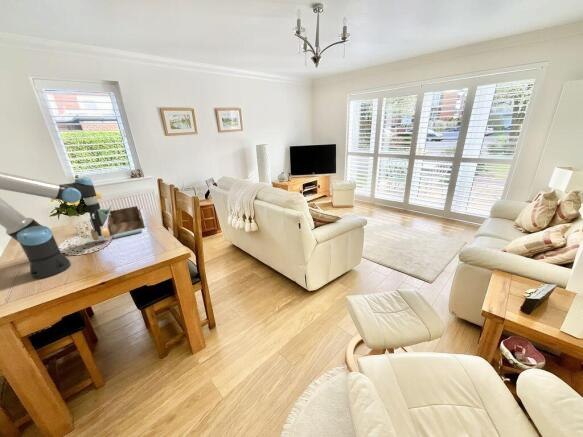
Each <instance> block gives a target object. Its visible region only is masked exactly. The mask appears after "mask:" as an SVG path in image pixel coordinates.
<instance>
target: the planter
mask: <svg viewBox="0 0 583 437" xmlns="http://www.w3.org/2000/svg"><path fill="white" fill-rule="evenodd" d="M112 207H113V205H110V206H109V208H108V209H102V208H100V209H98V212H99V216H100V219H101V222H102V224H103V226H102V227H104V225H105V223H106V221H107V220H108V217H109V215H110V211H112ZM89 220H90V222H91V225H92V227H93V229H94V226H93V222H92V219H91V218H89Z"/></svg>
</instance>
